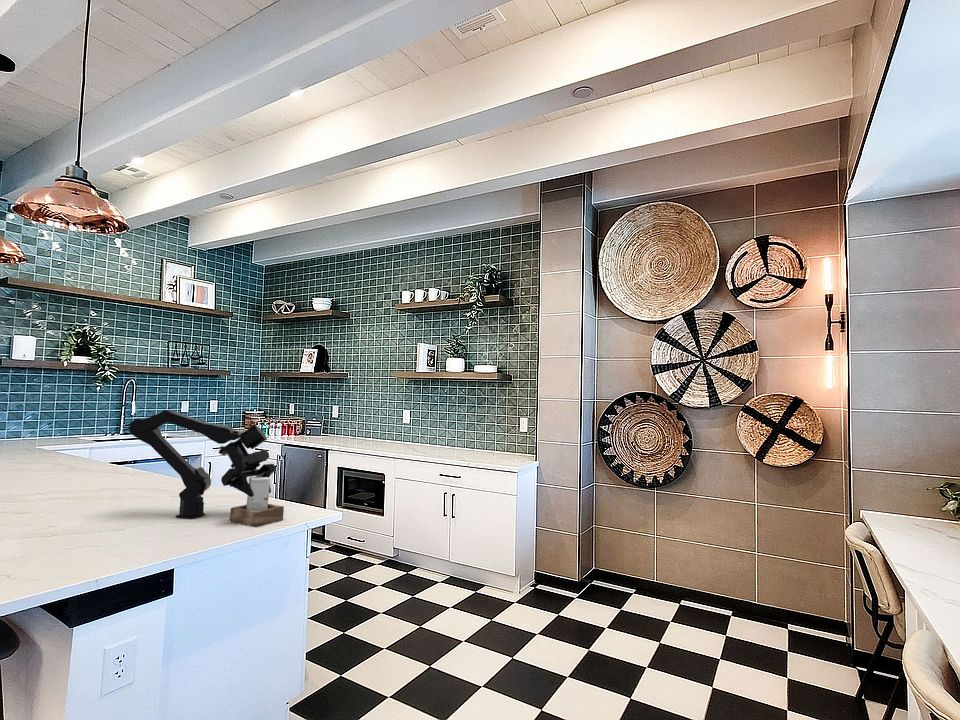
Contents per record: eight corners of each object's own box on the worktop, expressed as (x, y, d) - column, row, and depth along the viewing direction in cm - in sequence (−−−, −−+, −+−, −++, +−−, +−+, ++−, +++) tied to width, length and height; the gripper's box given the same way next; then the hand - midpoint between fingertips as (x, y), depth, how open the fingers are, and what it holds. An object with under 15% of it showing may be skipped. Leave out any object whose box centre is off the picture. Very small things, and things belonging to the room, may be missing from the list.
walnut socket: (229, 522, 176) (230, 507, 176) (257, 515, 186) (258, 502, 186) (255, 527, 171) (256, 512, 171) (282, 520, 181) (283, 506, 182)
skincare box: (247, 517, 175) (250, 479, 176) (245, 514, 179) (248, 477, 179) (267, 515, 178) (270, 478, 179) (264, 512, 182) (267, 476, 183)
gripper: (230, 443, 173) (253, 482, 168) (274, 440, 190) (296, 475, 185) (211, 465, 176) (232, 504, 171) (256, 460, 193) (277, 496, 188)
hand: (261, 494), depth 178 cm, fingers closed on skincare box, 7 cm apart
